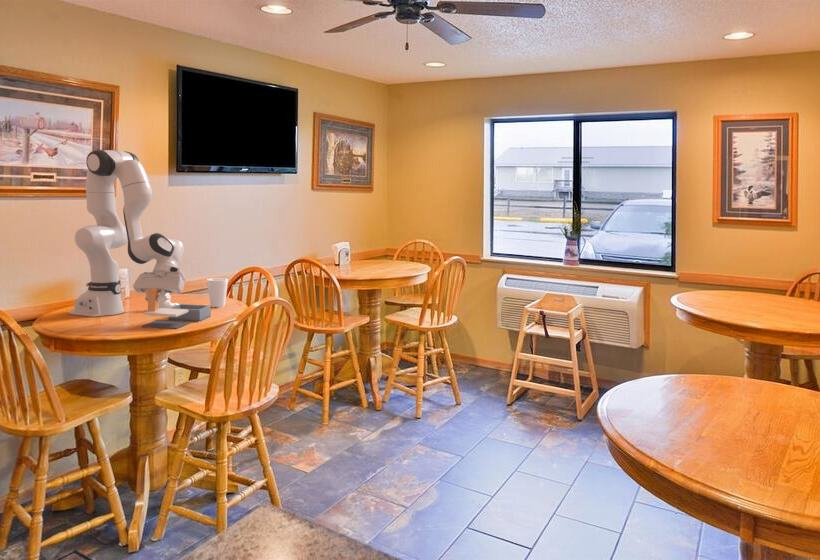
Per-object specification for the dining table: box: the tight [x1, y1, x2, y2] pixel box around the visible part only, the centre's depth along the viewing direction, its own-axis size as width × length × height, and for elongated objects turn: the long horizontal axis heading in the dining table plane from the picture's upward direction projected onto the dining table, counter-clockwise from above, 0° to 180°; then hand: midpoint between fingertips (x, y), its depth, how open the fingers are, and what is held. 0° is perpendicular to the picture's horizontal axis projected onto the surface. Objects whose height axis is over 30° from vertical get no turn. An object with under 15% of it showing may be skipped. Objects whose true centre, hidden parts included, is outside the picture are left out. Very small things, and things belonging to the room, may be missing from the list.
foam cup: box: [206, 277, 229, 308], centre depth 283 cm, size 10×9×13 cm
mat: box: [141, 319, 191, 330], centre depth 244 cm, size 15×11×1 cm
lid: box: [142, 288, 189, 318], centre depth 242 cm, size 14×10×10 cm
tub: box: [168, 303, 212, 322], centre depth 257 cm, size 14×10×5 cm
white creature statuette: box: [159, 293, 180, 308], centre depth 274 cm, size 10×9×12 cm
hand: (152, 300), depth 242 cm, fingers closed on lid, 3 cm apart
